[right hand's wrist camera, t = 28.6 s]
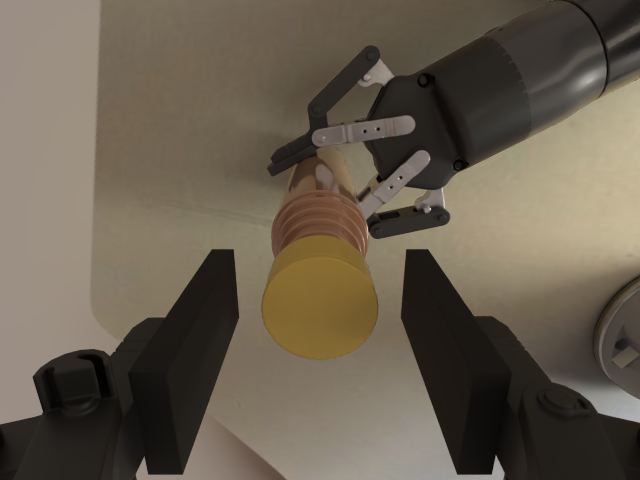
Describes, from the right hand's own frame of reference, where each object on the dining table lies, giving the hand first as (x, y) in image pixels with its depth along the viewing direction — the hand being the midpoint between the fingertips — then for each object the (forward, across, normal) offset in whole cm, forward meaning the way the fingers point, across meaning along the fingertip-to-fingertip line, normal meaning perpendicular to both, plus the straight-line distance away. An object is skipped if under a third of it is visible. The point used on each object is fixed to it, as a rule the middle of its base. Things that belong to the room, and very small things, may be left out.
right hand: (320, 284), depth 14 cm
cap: (-2, 0, 0) cm, 2 cm away
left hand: (+16, -2, -1) cm, 17 cm away
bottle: (+23, 0, 0) cm, 23 cm away
